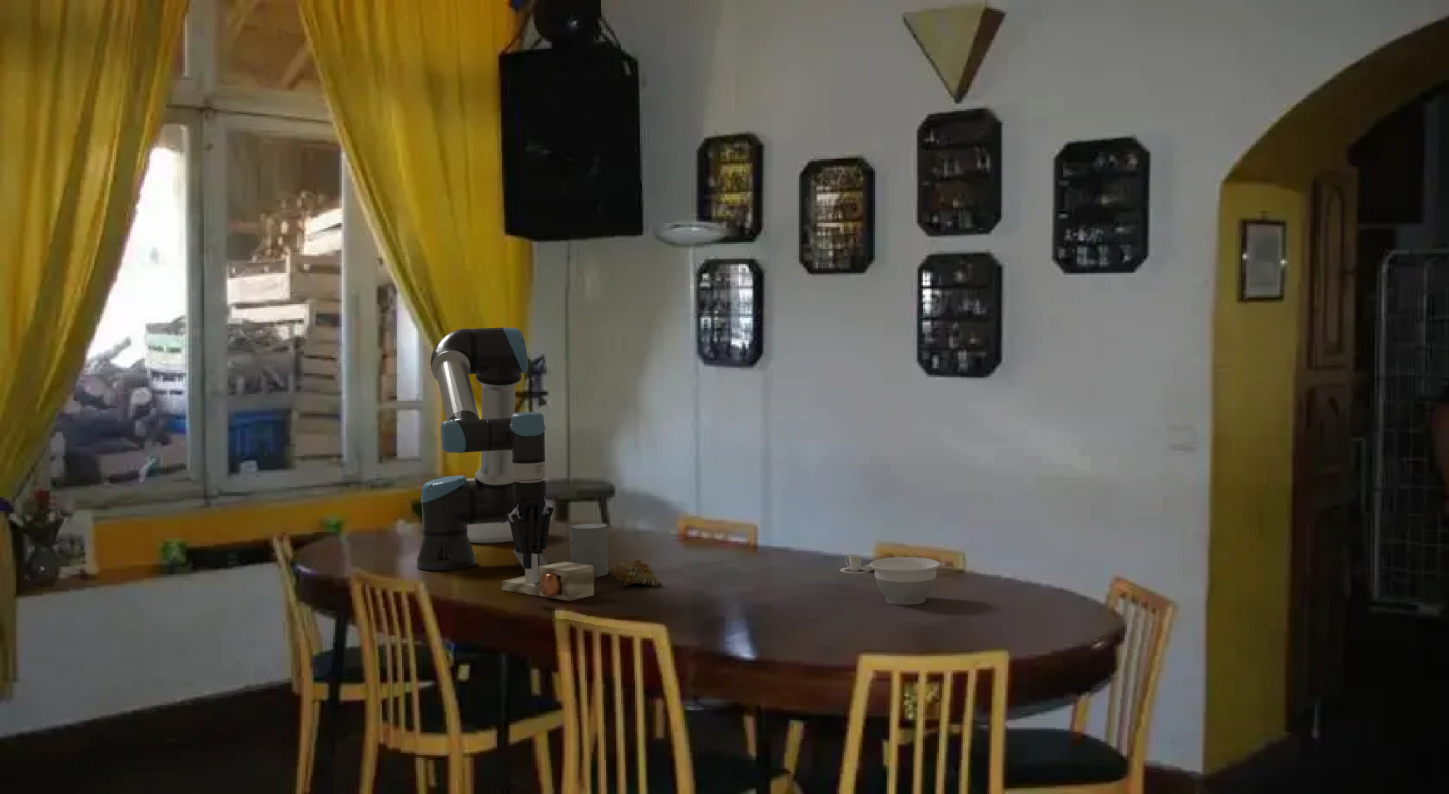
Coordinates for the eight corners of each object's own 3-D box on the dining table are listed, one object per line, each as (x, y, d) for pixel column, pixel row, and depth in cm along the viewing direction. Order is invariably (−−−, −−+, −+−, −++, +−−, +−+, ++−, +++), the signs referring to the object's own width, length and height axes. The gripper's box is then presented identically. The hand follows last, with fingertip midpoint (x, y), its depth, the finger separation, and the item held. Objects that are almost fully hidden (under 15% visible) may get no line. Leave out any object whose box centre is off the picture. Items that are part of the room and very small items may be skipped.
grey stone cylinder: (602, 577, 364) (601, 528, 363) (565, 576, 366) (564, 528, 365) (612, 570, 373) (611, 523, 372) (577, 569, 375) (575, 522, 374)
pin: (539, 595, 339) (539, 573, 339) (582, 586, 350) (581, 564, 350) (555, 598, 336) (555, 576, 335) (597, 588, 347) (597, 566, 346)
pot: (527, 544, 416) (526, 486, 415) (442, 546, 417) (440, 487, 415) (540, 530, 442) (538, 475, 441) (460, 531, 442) (458, 476, 441)
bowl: (923, 610, 318) (923, 572, 318) (858, 604, 327) (857, 566, 326) (952, 597, 332) (952, 560, 331) (889, 591, 340) (888, 555, 340)
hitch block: (502, 590, 350) (501, 561, 350) (526, 584, 357) (525, 556, 356) (569, 601, 336) (569, 571, 336) (594, 595, 342) (593, 565, 342)
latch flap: (512, 551, 348) (514, 548, 347) (533, 547, 353) (536, 544, 353) (535, 586, 344) (537, 583, 343) (556, 581, 349) (558, 578, 349)
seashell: (638, 602, 348) (617, 567, 346) (622, 602, 355) (601, 568, 353) (666, 580, 353) (645, 546, 351) (650, 580, 360) (629, 547, 358)
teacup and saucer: (880, 571, 367) (880, 555, 366) (860, 576, 361) (860, 560, 361) (853, 567, 373) (852, 552, 372) (833, 572, 367) (833, 556, 367)
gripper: (519, 484, 324) (522, 589, 326) (561, 478, 335) (563, 579, 337) (496, 482, 329) (499, 585, 331) (538, 475, 339) (541, 575, 341)
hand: (531, 581), depth 334 cm, fingers closed
